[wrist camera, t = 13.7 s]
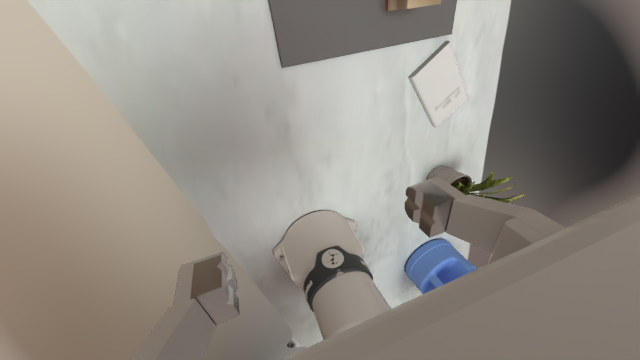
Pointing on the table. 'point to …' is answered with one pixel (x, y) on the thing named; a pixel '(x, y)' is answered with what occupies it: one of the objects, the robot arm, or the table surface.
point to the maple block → (408, 4)
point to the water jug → (436, 265)
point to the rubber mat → (351, 27)
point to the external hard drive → (439, 84)
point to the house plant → (469, 182)
